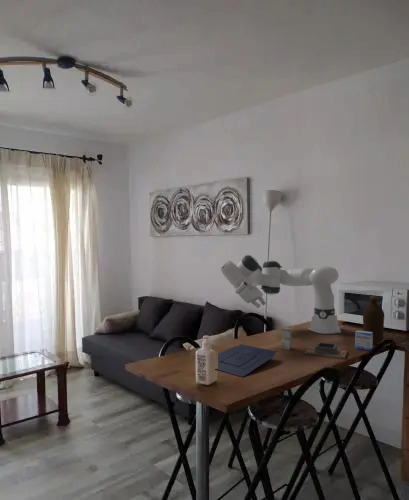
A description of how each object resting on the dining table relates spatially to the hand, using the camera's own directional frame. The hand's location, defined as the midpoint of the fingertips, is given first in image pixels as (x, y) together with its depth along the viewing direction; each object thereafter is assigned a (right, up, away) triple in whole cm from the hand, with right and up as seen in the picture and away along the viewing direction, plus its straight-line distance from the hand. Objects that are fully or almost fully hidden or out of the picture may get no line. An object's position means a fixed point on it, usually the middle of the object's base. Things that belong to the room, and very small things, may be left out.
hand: (262, 305), depth 208 cm
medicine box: (+51, -21, -6) cm, 55 cm away
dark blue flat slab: (-14, -22, -29) cm, 39 cm away
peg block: (+12, -21, -5) cm, 24 cm away
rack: (+29, -21, -15) cm, 39 cm away
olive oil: (+60, -21, +5) cm, 64 cm away
